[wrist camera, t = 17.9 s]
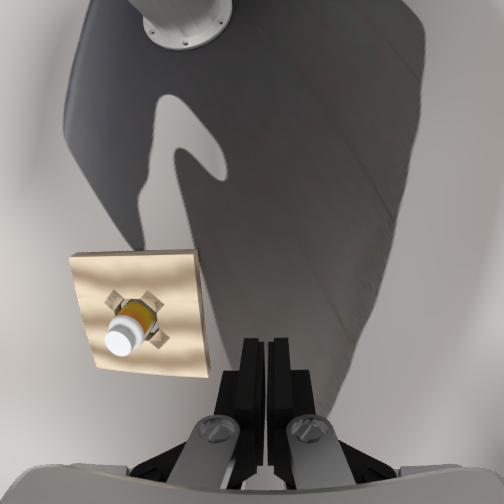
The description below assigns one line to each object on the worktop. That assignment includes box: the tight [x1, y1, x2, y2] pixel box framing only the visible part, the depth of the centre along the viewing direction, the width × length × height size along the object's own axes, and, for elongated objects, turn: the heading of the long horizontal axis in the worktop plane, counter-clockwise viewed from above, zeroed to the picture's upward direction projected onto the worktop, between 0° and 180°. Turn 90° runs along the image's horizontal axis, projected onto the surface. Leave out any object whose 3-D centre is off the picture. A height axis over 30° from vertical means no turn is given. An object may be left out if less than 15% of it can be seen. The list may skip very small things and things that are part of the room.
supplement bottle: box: [105, 299, 157, 356], centre depth 43 cm, size 5×5×10 cm
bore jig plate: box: [69, 249, 211, 378], centre depth 47 cm, size 20×20×2 cm
